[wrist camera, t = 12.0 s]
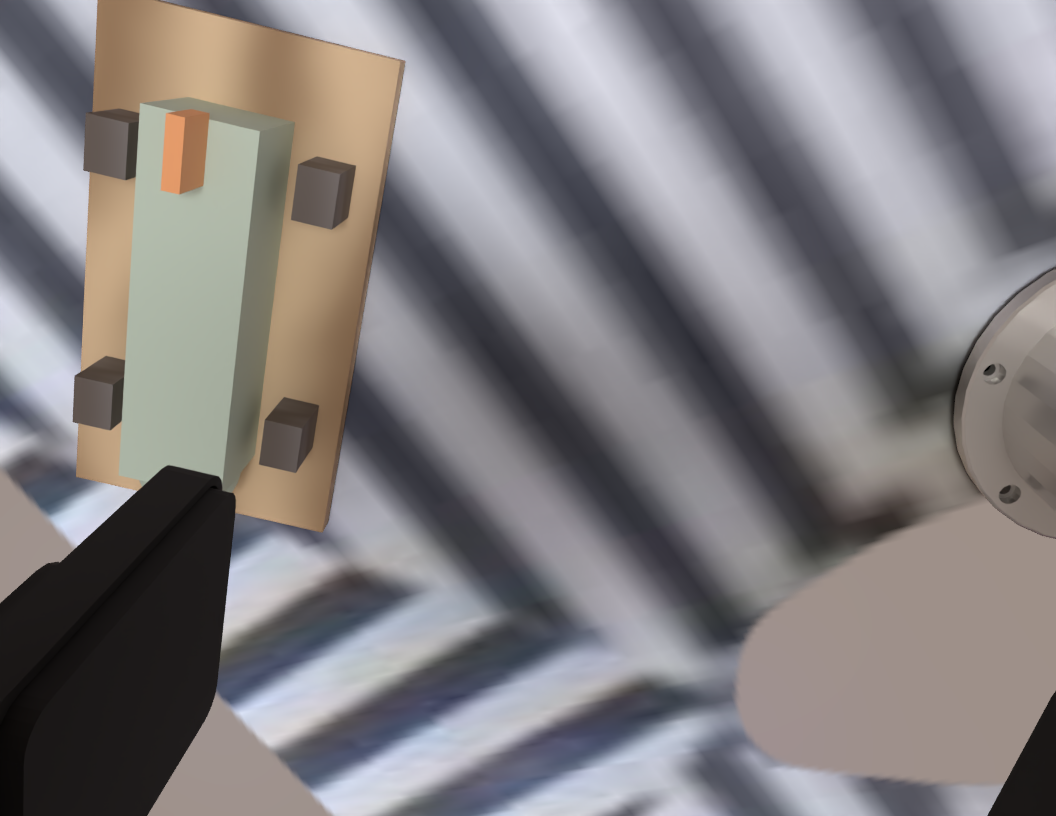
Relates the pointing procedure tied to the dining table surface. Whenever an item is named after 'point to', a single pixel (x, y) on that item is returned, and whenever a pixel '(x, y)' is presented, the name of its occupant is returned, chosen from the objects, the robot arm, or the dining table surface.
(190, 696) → the robot arm
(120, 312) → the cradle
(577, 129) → the dining table surface
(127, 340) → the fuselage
